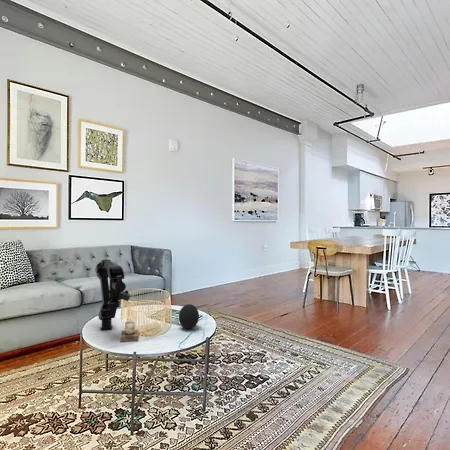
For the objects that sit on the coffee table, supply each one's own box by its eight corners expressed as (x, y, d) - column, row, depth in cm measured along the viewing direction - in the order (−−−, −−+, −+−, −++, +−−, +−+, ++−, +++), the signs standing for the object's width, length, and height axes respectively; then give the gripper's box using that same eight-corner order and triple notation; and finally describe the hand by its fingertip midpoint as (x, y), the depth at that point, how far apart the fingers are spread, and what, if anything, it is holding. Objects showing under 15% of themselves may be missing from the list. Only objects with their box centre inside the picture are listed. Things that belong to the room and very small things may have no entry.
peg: (125, 337, 184) (125, 321, 184) (134, 336, 185) (134, 320, 185) (124, 340, 179) (124, 324, 179) (134, 339, 181) (134, 323, 180)
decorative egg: (200, 325, 206) (200, 302, 205) (196, 332, 193) (197, 307, 193) (181, 324, 207) (181, 301, 206) (176, 331, 195) (176, 306, 194)
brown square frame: (121, 335, 186) (121, 330, 186) (138, 334, 188) (138, 329, 188) (120, 342, 177) (120, 336, 177) (138, 341, 179) (138, 335, 179)
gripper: (129, 291, 177) (128, 320, 178) (129, 283, 195) (129, 309, 196) (107, 292, 174) (107, 321, 175) (110, 284, 192) (109, 310, 193)
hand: (114, 315), depth 185 cm, fingers closed
